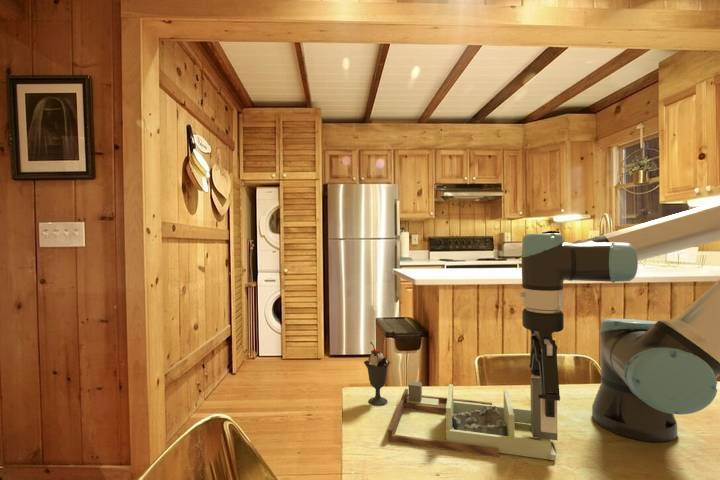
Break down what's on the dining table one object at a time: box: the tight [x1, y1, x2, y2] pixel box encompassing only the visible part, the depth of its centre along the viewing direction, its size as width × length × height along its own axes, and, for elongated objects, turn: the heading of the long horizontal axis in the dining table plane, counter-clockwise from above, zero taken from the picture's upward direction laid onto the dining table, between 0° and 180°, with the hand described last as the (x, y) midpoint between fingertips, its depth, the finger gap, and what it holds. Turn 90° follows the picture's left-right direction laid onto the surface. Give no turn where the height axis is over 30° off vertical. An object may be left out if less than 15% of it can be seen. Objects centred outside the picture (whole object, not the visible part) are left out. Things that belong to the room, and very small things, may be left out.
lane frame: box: [387, 388, 500, 458], centre depth 84 cm, size 21×21×2 cm
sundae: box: [363, 341, 391, 407], centre depth 96 cm, size 7×7×15 cm
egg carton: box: [452, 405, 507, 436], centre depth 80 cm, size 11×8×4 cm
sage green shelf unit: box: [445, 377, 558, 461], centre depth 79 cm, size 21×14×12 cm, turn 74°
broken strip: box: [406, 380, 480, 406], centre depth 92 cm, size 18×3×5 cm, turn 74°
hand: (543, 418), depth 76 cm, fingers open, 10 cm apart
